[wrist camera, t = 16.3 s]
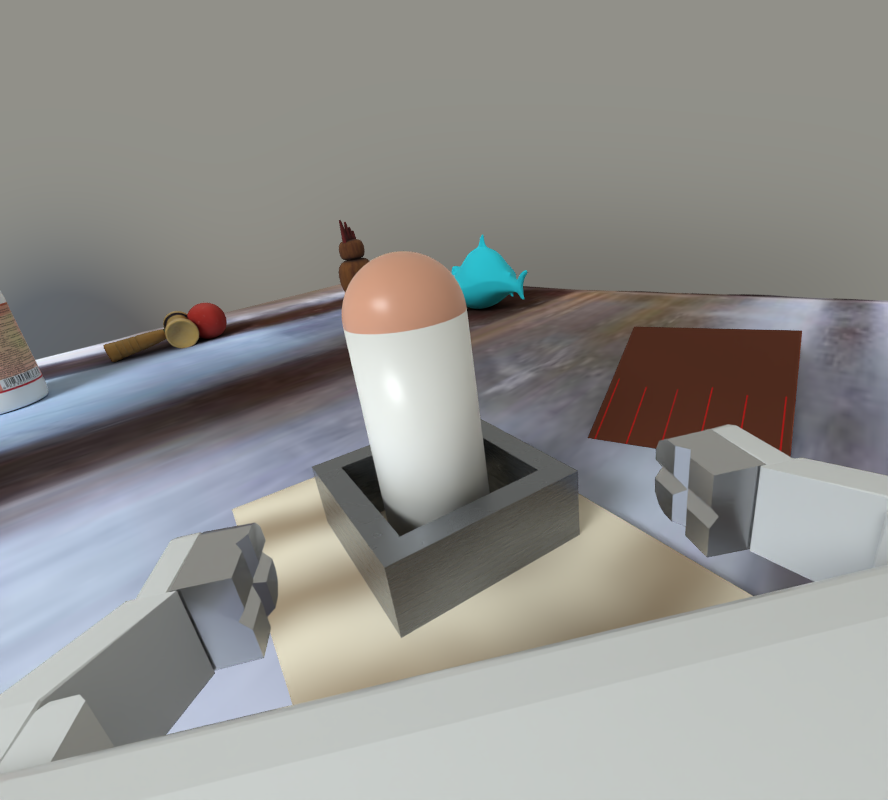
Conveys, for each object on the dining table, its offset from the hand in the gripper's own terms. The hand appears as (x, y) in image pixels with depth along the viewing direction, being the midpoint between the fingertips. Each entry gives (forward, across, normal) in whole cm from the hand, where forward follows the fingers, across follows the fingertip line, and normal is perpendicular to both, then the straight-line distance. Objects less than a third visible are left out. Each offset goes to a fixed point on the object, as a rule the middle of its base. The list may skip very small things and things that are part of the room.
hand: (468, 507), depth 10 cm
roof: (+25, -23, +11) cm, 36 cm away
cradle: (+12, 0, +10) cm, 15 cm away
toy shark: (+62, -14, +11) cm, 65 cm away
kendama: (+74, +36, +11) cm, 83 cm away
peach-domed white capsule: (+12, 0, +10) cm, 15 cm away
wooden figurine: (+92, +6, +11) cm, 93 cm away
